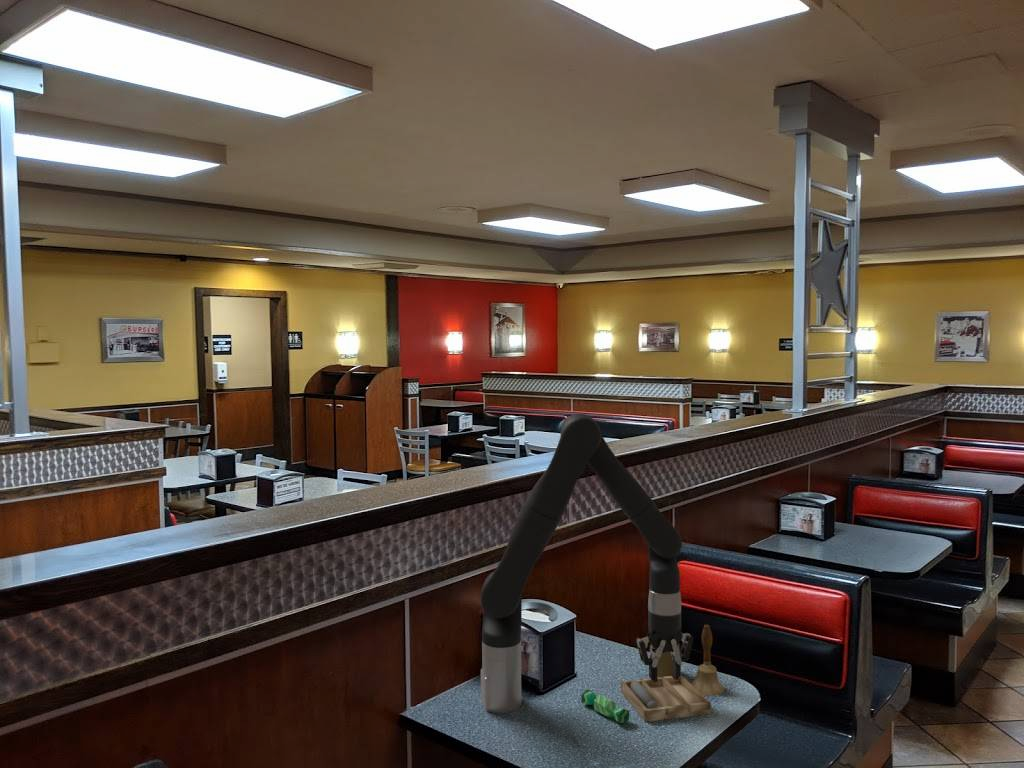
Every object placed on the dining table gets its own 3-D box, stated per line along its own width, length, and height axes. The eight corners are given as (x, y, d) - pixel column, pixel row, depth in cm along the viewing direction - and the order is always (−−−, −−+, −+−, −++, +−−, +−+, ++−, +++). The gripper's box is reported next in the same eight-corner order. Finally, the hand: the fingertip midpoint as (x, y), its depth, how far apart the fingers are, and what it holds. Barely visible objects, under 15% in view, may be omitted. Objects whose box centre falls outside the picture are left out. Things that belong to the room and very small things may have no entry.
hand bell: (725, 698, 177) (726, 632, 177) (690, 695, 179) (690, 630, 178) (723, 682, 185) (723, 620, 185) (689, 680, 187) (689, 617, 186)
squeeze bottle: (647, 680, 187) (647, 610, 186) (650, 667, 195) (650, 599, 194) (679, 684, 184) (680, 613, 184) (682, 671, 192) (682, 602, 191)
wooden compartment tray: (644, 721, 166) (644, 711, 166) (620, 691, 181) (620, 681, 181) (710, 713, 170) (710, 703, 170) (681, 684, 185) (681, 674, 184)
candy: (629, 723, 167) (629, 705, 166) (618, 728, 165) (618, 709, 164) (592, 702, 176) (592, 686, 176) (581, 707, 174) (581, 690, 174)
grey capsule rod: (649, 714, 168) (649, 703, 168) (628, 689, 180) (628, 679, 180) (659, 712, 169) (659, 702, 168) (638, 688, 181) (638, 678, 181)
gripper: (642, 617, 169) (642, 690, 170) (700, 611, 172) (700, 683, 173) (629, 605, 176) (630, 676, 177) (685, 600, 180) (685, 669, 180)
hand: (664, 679), depth 175 cm, fingers open, 4 cm apart
